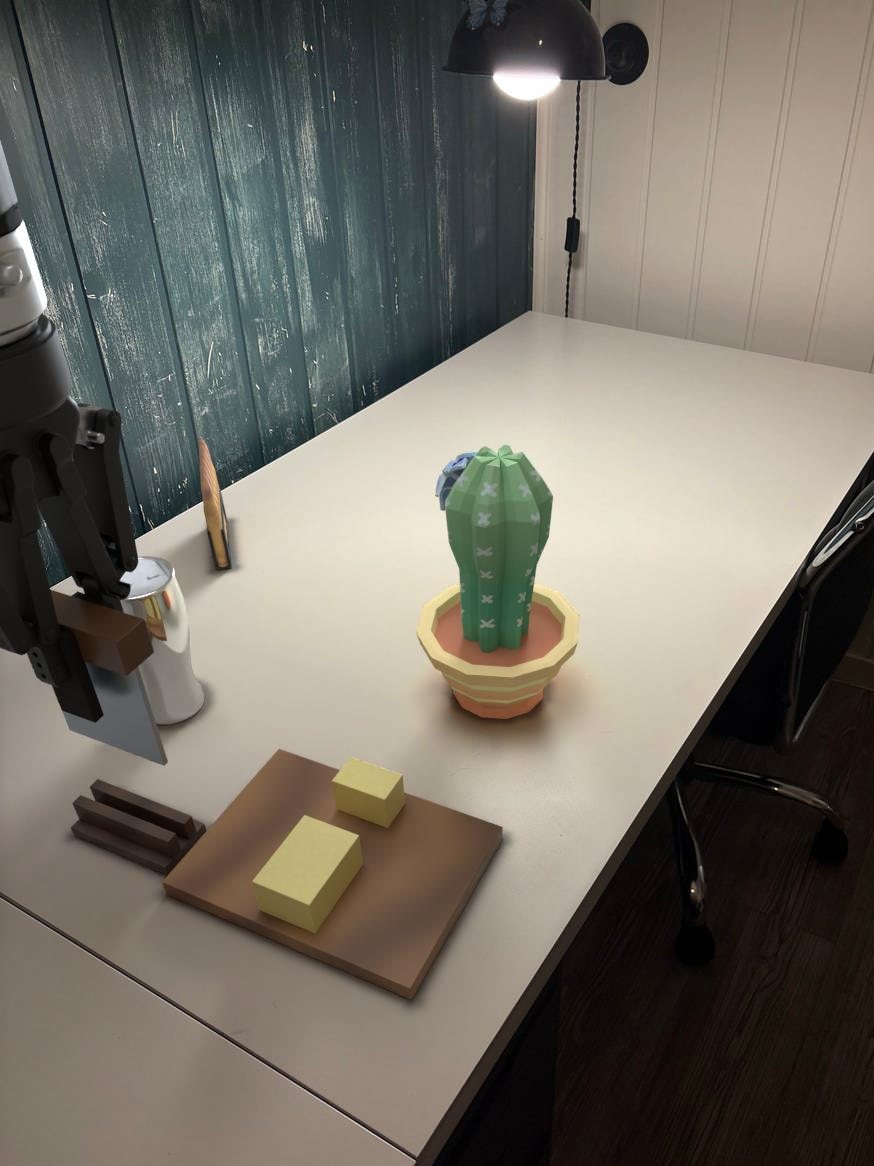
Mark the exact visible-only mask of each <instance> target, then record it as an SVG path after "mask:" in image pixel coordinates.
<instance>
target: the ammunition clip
mask: <svg viewBox="0 0 874 1166" xmlns="http://www.w3.org/2000/svg"><path fill="white" fill-rule="evenodd" d="M198 455H199V456H198V458H199V474H200V491H201V496H202V497H201V498H202V502H203V503H202V504H203V513H204V518H205V522H206V534H207V539H208V542H209V547H210V551H211V555H212V559H213V564H214V569H215V570H216V571H218V570H223V569H231V568H233V565H232V554H231V543H230V541H231V540H230V532H229V521H228V517H227V513H226V512H227V511H226V509H225V507H226V506H225V503H224V498H223V494H222V490H221V487H220V485H219V480H218V477H217V472H216V469H215V467H214V465H213V461H212V459H211V458H212V457H211V454H210V451H209V448H208V445H207V444H206V442H205V440H204V439H203V438H202V437H200V438H199V441H198Z"/></svg>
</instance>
